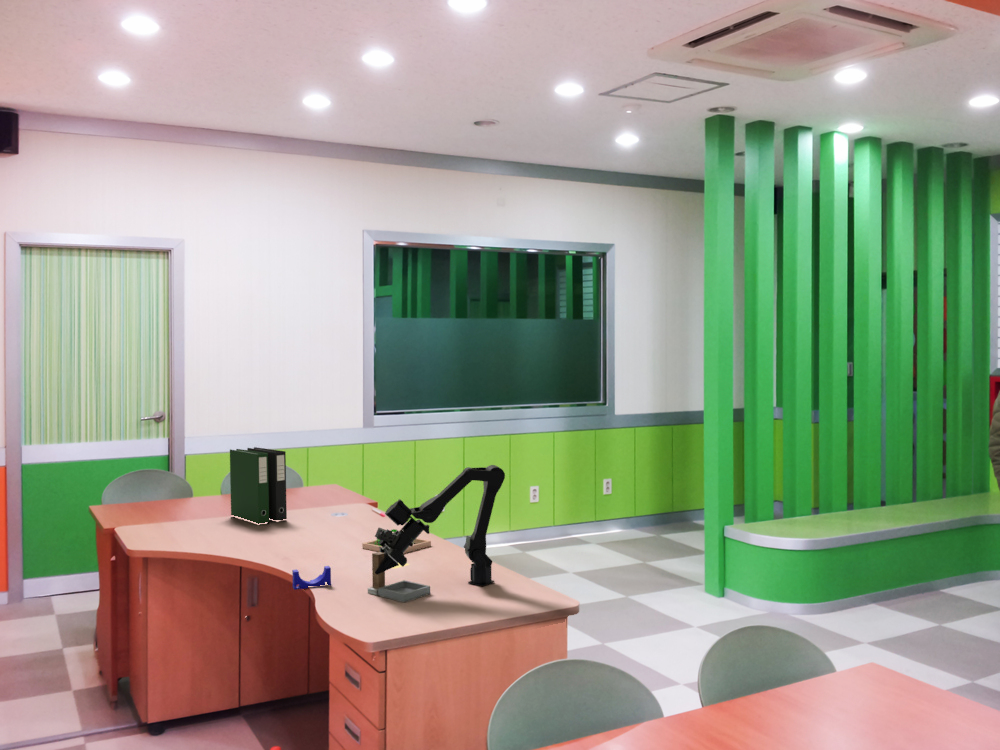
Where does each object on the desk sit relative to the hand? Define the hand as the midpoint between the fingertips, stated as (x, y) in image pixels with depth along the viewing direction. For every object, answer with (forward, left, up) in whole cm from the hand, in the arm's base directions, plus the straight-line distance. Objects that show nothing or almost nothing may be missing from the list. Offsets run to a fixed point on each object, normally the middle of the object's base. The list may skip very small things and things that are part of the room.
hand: (374, 572), depth 273 cm
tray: (-10, -4, -7) cm, 12 cm away
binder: (+132, -51, -7) cm, 142 cm away
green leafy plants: (+41, -49, -7) cm, 64 cm away
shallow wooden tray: (+39, -49, -7) cm, 63 cm away
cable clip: (+23, +7, -7) cm, 25 cm away
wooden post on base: (-1, -1, -7) cm, 7 cm away
